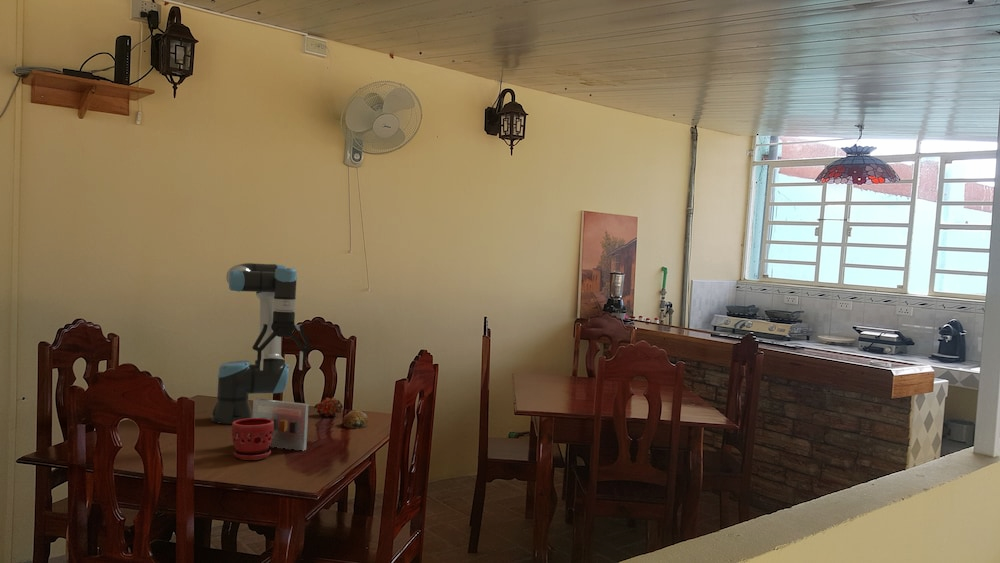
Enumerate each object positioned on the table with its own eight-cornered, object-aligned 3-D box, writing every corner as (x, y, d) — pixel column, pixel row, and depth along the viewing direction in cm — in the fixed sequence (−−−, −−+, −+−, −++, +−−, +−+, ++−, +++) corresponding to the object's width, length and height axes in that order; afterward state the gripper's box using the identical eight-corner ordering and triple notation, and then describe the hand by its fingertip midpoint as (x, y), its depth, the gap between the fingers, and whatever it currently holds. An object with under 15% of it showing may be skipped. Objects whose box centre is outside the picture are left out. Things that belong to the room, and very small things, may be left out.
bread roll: (369, 433, 291) (372, 414, 295) (363, 428, 282) (366, 408, 285) (345, 432, 292) (348, 412, 296) (338, 426, 283) (342, 406, 286)
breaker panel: (249, 445, 251) (251, 400, 250) (254, 443, 254) (256, 398, 253) (301, 451, 247) (304, 405, 246) (306, 449, 250) (308, 404, 249)
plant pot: (279, 453, 243) (281, 418, 243) (260, 464, 230) (261, 427, 230) (243, 449, 245) (245, 415, 245) (222, 460, 232) (224, 423, 232)
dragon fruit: (344, 420, 303) (315, 423, 302) (345, 405, 309) (317, 408, 309) (340, 407, 297) (311, 410, 297) (342, 392, 304) (313, 394, 303)
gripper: (248, 310, 248) (245, 371, 249) (321, 312, 259) (318, 371, 259) (246, 309, 255) (243, 368, 256) (317, 310, 266) (314, 367, 266)
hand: (281, 369), depth 258 cm, fingers open, 13 cm apart
